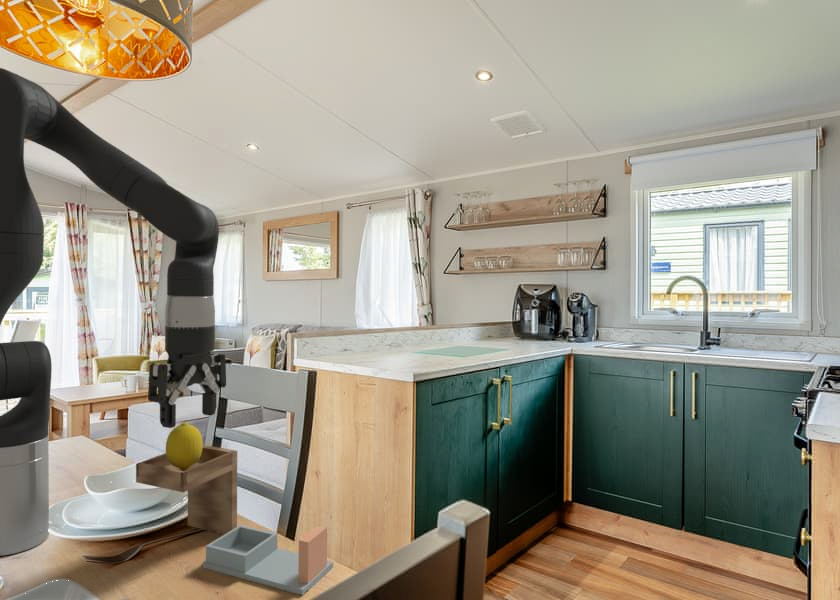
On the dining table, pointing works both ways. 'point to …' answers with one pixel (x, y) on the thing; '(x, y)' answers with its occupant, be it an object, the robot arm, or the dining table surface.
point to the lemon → (184, 446)
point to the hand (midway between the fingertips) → (189, 420)
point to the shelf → (200, 486)
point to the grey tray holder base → (270, 558)
